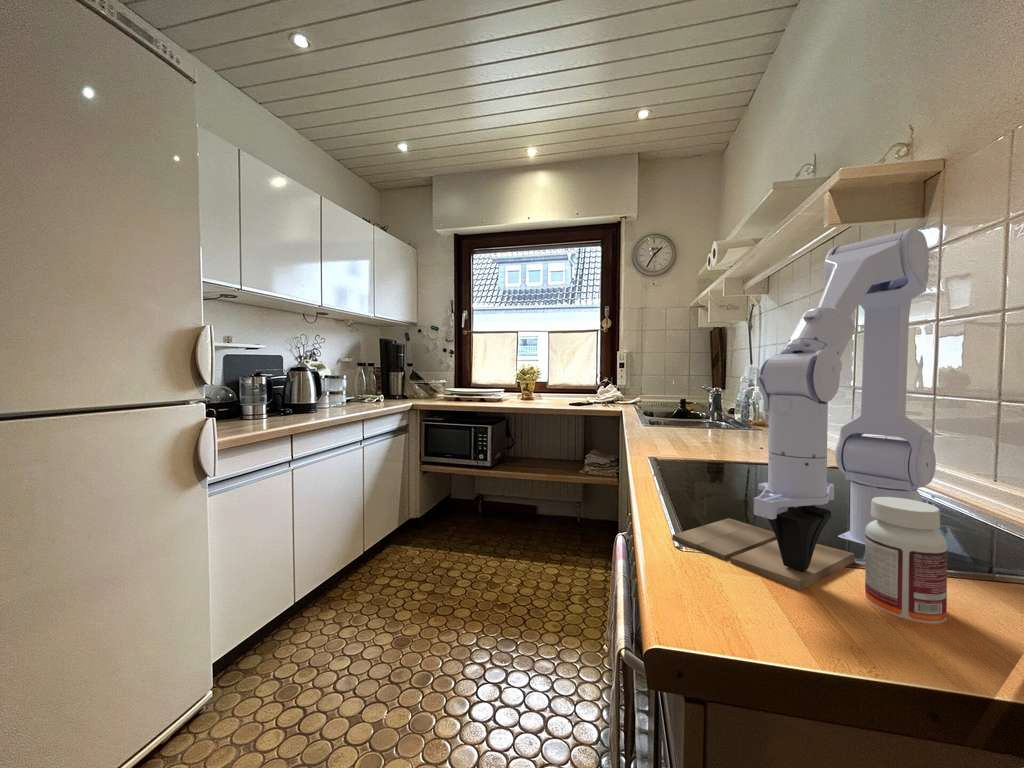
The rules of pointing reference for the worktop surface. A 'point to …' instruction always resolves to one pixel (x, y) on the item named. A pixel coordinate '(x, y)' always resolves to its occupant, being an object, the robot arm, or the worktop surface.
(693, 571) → the worktop surface
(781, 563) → the plank
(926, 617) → the pill bottle
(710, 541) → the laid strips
